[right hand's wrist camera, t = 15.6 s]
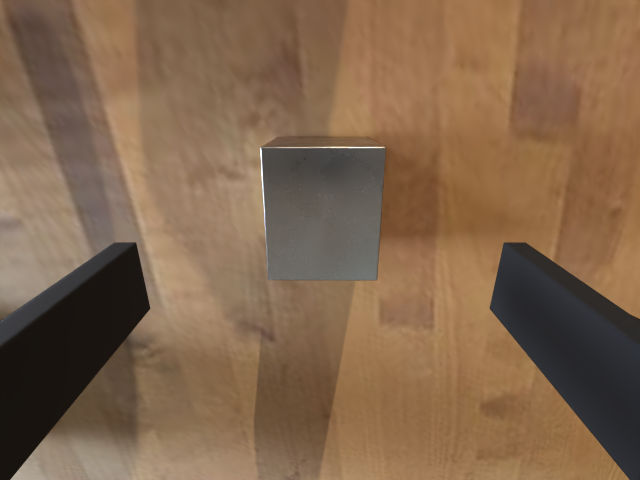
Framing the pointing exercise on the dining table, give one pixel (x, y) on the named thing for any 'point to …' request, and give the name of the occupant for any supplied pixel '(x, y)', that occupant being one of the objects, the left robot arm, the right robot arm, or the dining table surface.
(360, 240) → the block
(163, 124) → the dining table surface
